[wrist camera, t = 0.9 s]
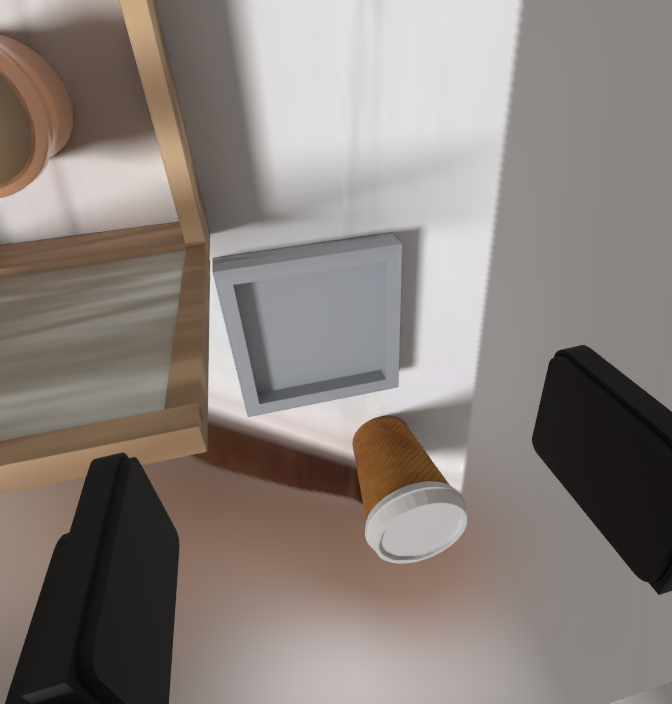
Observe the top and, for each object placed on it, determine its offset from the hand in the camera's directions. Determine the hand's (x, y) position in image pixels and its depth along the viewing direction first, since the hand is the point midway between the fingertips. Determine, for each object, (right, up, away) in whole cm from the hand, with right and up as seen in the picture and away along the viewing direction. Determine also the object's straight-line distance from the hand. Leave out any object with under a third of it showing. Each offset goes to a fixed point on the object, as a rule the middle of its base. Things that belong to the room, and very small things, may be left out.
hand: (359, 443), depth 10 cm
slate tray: (-3, +5, +28) cm, 28 cm away
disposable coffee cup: (+4, -7, +38) cm, 39 cm away
